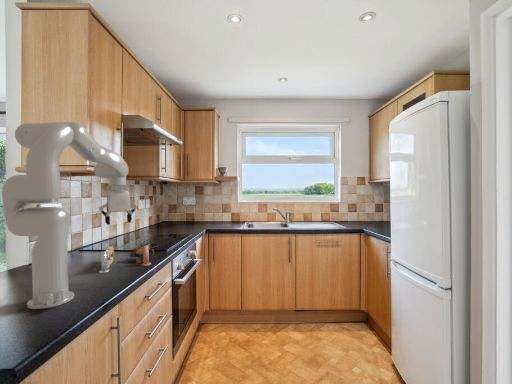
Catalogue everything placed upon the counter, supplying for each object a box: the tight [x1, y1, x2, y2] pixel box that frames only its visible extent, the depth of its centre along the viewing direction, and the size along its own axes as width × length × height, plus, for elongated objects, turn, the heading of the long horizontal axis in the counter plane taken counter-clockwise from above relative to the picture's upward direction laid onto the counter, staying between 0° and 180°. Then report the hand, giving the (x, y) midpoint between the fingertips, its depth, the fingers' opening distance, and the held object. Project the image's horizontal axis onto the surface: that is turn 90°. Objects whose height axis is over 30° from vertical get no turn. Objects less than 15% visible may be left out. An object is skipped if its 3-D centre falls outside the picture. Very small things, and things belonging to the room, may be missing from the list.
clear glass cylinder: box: [98, 250, 111, 274], centre depth 123 cm, size 4×4×9 cm
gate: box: [105, 245, 115, 269], centre depth 133 cm, size 18×2×8 cm, turn 18°
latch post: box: [141, 245, 152, 267], centre depth 134 cm, size 4×4×9 cm
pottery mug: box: [129, 246, 155, 264], centre depth 142 cm, size 12×10×8 cm
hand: (118, 223), depth 134 cm, fingers open, 9 cm apart
